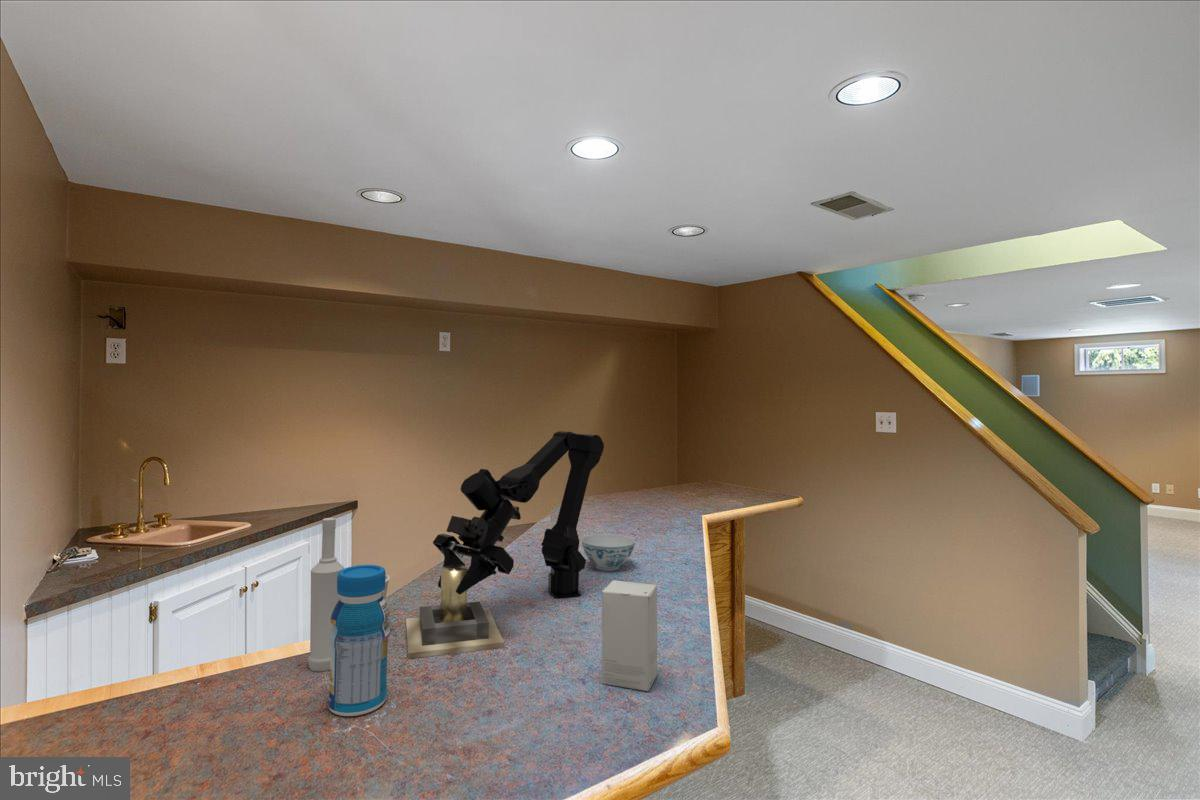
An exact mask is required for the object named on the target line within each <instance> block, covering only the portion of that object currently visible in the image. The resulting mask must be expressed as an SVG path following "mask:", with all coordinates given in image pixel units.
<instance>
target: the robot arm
mask: <svg viewBox="0 0 1200 800" xmlns="http://www.w3.org/2000/svg"><path fill="white" fill-rule="evenodd" d="M604 443H605V442H603V439H602V437H601V436H600V435H598V434H590V433H588V434H587V433H575V432H572V431H566V430H565V431H563V430H557V431H556V432H554V434H553V435H552V438H550V439H549V441H548V442H546V443H545V444H544V445H543V446H542V447H541V448H540V449H539V450H538V451H537V452H536V453H535V454H534V455H533V456H532V457H531V458H529V459H528V461H526V463H524V464H522V465H520V466H518V467H516V468H512V469H511V470H509V471H507V472H506V473H505V474H503V475H502V476H501V477H500V479H498V480H495V478H494V477H493V476H492V473H491V472H490V470H488V469H486V468H480V469H479V471H478V472H475V473H473V474H471V475H470V476H469V477H467V478H465V479H464V480H463V481H462V483H461V485H460V492H461V493H462V494H463V495H464V497H466V498H467V500H468V501H469V502H470V503H471V504H472V506H473V507H475V509H476V510H477V511H483V512H482V514H481V515H480V516H479V517H478V516H473V517H472V518H471V519H469V518H465V517H461V516H460V517H459V516H455V515H451V517H450V520H449V522H448V525H447V529H446V530H445V531H446V532H448V533H453V534H456V535H458V537H457V538H458V539H457V538H456V537H455V536H454V535H450V534H445V533H439V534H437V536H436V537H435V538H434V540H433V541H432V544H433V545H434V547H436V549H438V551H439V552H440V553H441V554H442V555H443V557H444V559H443V564H442V565H443V566H442V568H443V567H445V566H450V565H463V566H466V564H465V563H464V562H463V561H462V560H461V559H462V558H463V557H464V556H466V557H470V558H471V559H470V565H469V567H468V570H467V572H466V574H465V576H464V577H463V579H462V581H461V582H460V584H459V586H458V588H457V590H456V592H457V593H458V594H462V593H463V592H465V591H466V590H467V591H468V590H469V589H471V588H472V587H474V586H475V585H477V584H478V583H480V582H482V581H484V580H485V579H488V577H490V576H492V575H493V576H495V575H496V574H497V571H498V572H499V573H501V574H506V575H510V573H511V571H512V570H513V568H514V566H515V565H514V564H515V563H514V559H513V557H512V556H511V555H510V554H509V553H508V552H507V550H506V549H505V548H504V547H503V546H498V545H496V543H497V542H499V543H500V542H501V543H502V542H503V540H504V536H503V535H502V534H503V532H504V531H505V529H506V527H507V526H508V525H509V523H510V521H511V520H518V521H520V520H521V516H522V515H521V513H520V506H514V505H513V503H512V502H517V503H521V504H522V503H523V504H526V503H528V502H529V501H530V500H531V499H532V498H533V496H534V495H535V494H536V493H537V491H538V490H539V487H540V482H541V480H542V478H543V477H544V476H545V475H546V474H547V473H549V471H550V470H551V469H552V468H553V467H554V466H555V465H556V463H558V461H560V460H561V459H562V457H564V456H565V454H567V455H568V460H569V464H570V469H569V474H568V476H567V482H566V484H565V488H564V492H563V495H562V500H561V504H560V507H559V508H560V509H559V512H558V516H557V519H556V523H555V524H554V525H553V526H552V527H551V528H546V529H545V531H544V534H543V535H544V536H543V540H542V542H541V543H540V546H541V547H542V548H541V554H542V556H543V560H544V563H545V566H546V567H550V572H549V573H548V576H547V577H548V584H547V586H548V587H547V590H548V591H549V592H550V594H551V595H552V596H553V597H554V598H555V599H557V598H558V599H559V598H561V599H562V598H569V597H579V596H581V595H582V594H581V592H580V591H579V590H580V589H579V587H580V586H579V584H580V583H579V582H580V580H579V579H580V572H582V570H584V569H585V566H586V562H587V559H586V558H585V556H583V555H582V553H581V552H580V550H579V549H580V548H579V547H580V538H579V534H578V531H577V530H578V529H577V527H578V522H579V519H580V514H581V510H582V506H583V503H584V498H585V495H586V490H587V487H588V483H589V477H590V474H591V472H592V470H593V469H594V468H595V467H596V466H597V465H598V464H599V462H600V460H601V458H602V454H603V452H604V450H605V449H604V448H605V444H604ZM460 541H461V542H462V543H460ZM496 569H497V571H496ZM437 587H438V588H439V589H441V575H439V580H438V583H437Z"/></svg>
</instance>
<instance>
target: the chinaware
mask: <svg viewBox="0 0 1200 800" xmlns="http://www.w3.org/2000/svg"><path fill="white" fill-rule="evenodd" d="M635 544H636V540H635V539H634V538H632V537H629V536H627V535H621V534H616V533H613V534H611V533H599V534H598V533H597V534H590V535H586V536H583V537H582V538H581V545H582V549H583V552H584V553H585V556H586V557H587V558H588V560H589V561H590V562H591V563H592V564H594V565H595V569H598V571H599V570H600V571H604V572H605V571H606V572H612V571H618V570H619V569H620V568H621V565H623V564H624V563H625V562H627V560H628V559H629V558H630V557H631V556H632V553H633V551H634V549H635Z"/></svg>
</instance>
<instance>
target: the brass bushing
mask: <svg viewBox="0 0 1200 800" xmlns="http://www.w3.org/2000/svg"><path fill="white" fill-rule="evenodd" d="M468 569H469V567H468V566H467V565H465V566H463V565H450V566H445V567H443V566H442V568H441V571H440V576H441V588H440V604H439V605H440V623H445V622H455V621H465V620H466V615H467V603H468V590H466V591H465V592H463V593H462V594H458V593H457V592H456V590H457V588H458V586H459V584H460V582H461V581H462V579H463V577H464V576H465V574H466V572H467V570H468Z"/></svg>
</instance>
